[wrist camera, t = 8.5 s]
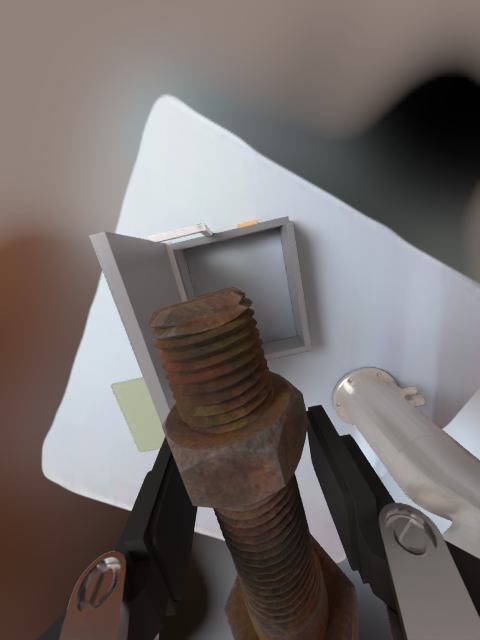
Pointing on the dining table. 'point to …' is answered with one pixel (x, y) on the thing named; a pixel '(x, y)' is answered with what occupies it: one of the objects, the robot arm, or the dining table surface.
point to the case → (181, 291)
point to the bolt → (249, 470)
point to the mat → (139, 413)
